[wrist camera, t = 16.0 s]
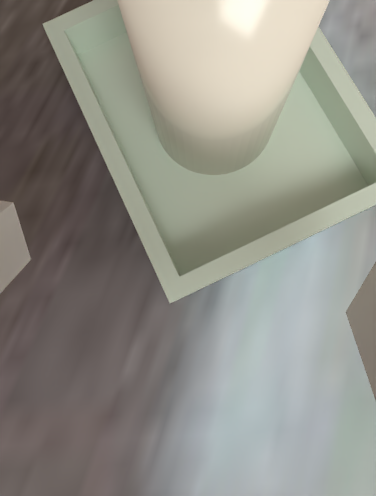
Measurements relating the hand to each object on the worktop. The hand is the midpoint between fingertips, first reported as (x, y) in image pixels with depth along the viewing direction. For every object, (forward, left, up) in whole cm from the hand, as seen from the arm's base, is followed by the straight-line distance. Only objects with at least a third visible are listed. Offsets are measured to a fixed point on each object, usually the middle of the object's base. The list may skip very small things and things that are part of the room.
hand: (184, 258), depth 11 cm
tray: (-8, +5, -7) cm, 11 cm away
